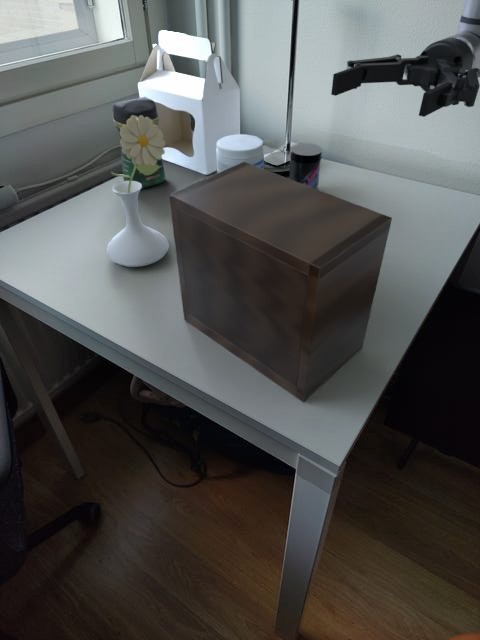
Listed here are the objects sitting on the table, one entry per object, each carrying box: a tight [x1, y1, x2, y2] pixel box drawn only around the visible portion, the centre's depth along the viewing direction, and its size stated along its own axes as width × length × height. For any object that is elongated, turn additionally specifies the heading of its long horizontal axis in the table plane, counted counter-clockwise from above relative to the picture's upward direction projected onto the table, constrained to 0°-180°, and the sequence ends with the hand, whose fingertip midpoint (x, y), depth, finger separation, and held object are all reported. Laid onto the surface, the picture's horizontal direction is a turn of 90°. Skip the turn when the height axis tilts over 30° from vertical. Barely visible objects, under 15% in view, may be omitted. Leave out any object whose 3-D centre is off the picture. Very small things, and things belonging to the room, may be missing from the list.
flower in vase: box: [106, 115, 170, 268], centre depth 79 cm, size 13×11×25 cm
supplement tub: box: [216, 133, 265, 174], centre depth 95 cm, size 10×10×15 cm
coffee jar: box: [112, 97, 166, 189], centre depth 105 cm, size 10×8×19 cm
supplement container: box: [288, 143, 323, 190], centre depth 102 cm, size 7×7×10 cm
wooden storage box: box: [168, 162, 393, 403], centre depth 64 cm, size 24×14×22 cm, turn 46°
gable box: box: [137, 30, 241, 176], centre depth 113 cm, size 22×13×28 cm, turn 50°
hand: (376, 94), depth 62 cm, fingers open, 13 cm apart
